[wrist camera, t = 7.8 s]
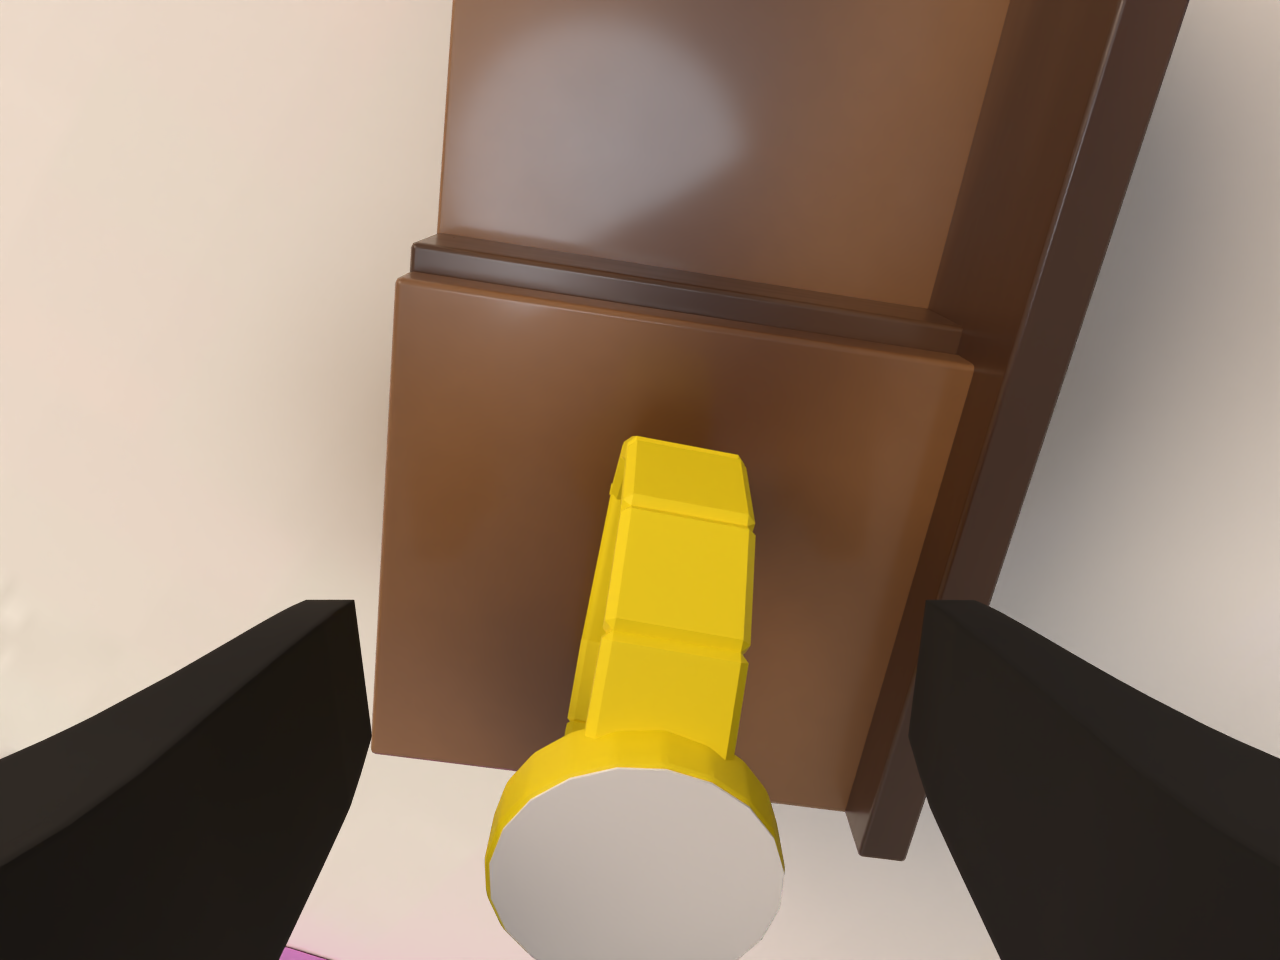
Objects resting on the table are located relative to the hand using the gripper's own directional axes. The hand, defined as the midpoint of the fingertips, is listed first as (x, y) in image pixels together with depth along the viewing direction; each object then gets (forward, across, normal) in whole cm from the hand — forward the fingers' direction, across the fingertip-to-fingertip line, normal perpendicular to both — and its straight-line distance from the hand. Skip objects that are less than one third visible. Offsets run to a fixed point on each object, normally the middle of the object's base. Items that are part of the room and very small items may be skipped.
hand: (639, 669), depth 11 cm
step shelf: (+8, -1, -4) cm, 9 cm away
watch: (+3, 0, 0) cm, 3 cm away
